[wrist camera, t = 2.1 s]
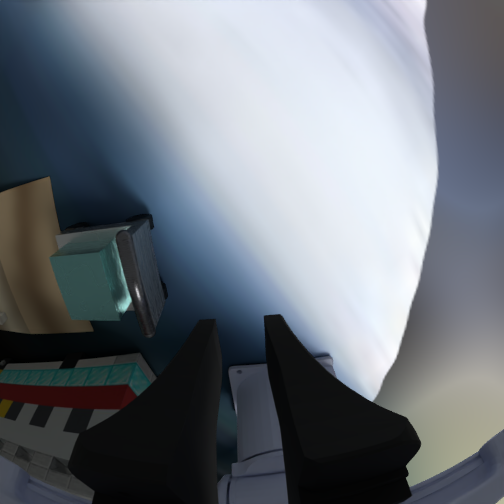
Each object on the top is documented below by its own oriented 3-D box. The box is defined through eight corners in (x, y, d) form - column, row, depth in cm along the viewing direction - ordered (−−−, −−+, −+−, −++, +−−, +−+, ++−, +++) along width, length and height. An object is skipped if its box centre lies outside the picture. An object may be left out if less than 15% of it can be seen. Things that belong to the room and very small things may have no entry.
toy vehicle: (-12, 357, 24) (-56, 423, 10) (141, 340, 22) (90, 496, 9) (18, 395, 27) (-15, 462, 13) (179, 397, 25) (161, 529, 12)
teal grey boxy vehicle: (154, 206, 18) (126, 232, 13) (171, 295, 21) (155, 341, 16) (71, 218, 18) (30, 244, 13) (94, 298, 20) (66, 337, 16)
